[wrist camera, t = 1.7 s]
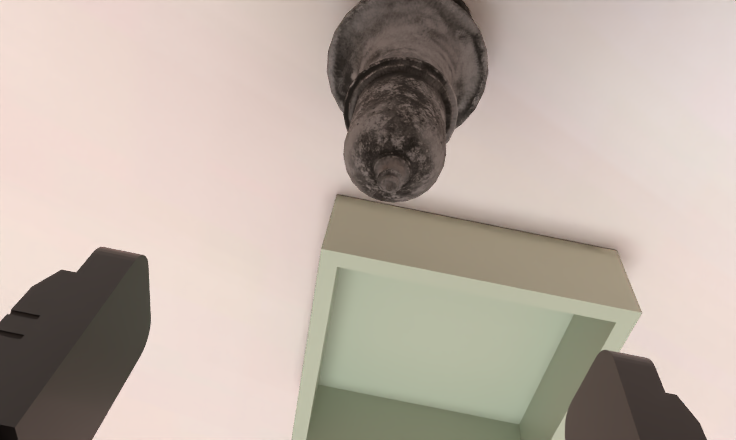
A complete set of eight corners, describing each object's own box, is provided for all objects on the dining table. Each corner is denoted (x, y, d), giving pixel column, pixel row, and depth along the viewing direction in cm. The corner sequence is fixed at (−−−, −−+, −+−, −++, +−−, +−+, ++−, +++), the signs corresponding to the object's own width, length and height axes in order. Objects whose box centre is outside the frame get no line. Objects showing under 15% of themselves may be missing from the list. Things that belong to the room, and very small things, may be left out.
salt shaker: (511, 14, 24) (561, 151, 14) (434, 131, 27) (429, 312, 17) (382, -64, 23) (334, 25, 13) (317, 68, 26) (238, 221, 16)
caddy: (336, 194, 29) (321, 248, 25) (616, 250, 29) (642, 312, 26) (305, 383, 37) (290, 445, 33) (526, 426, 37) (536, 494, 33)
